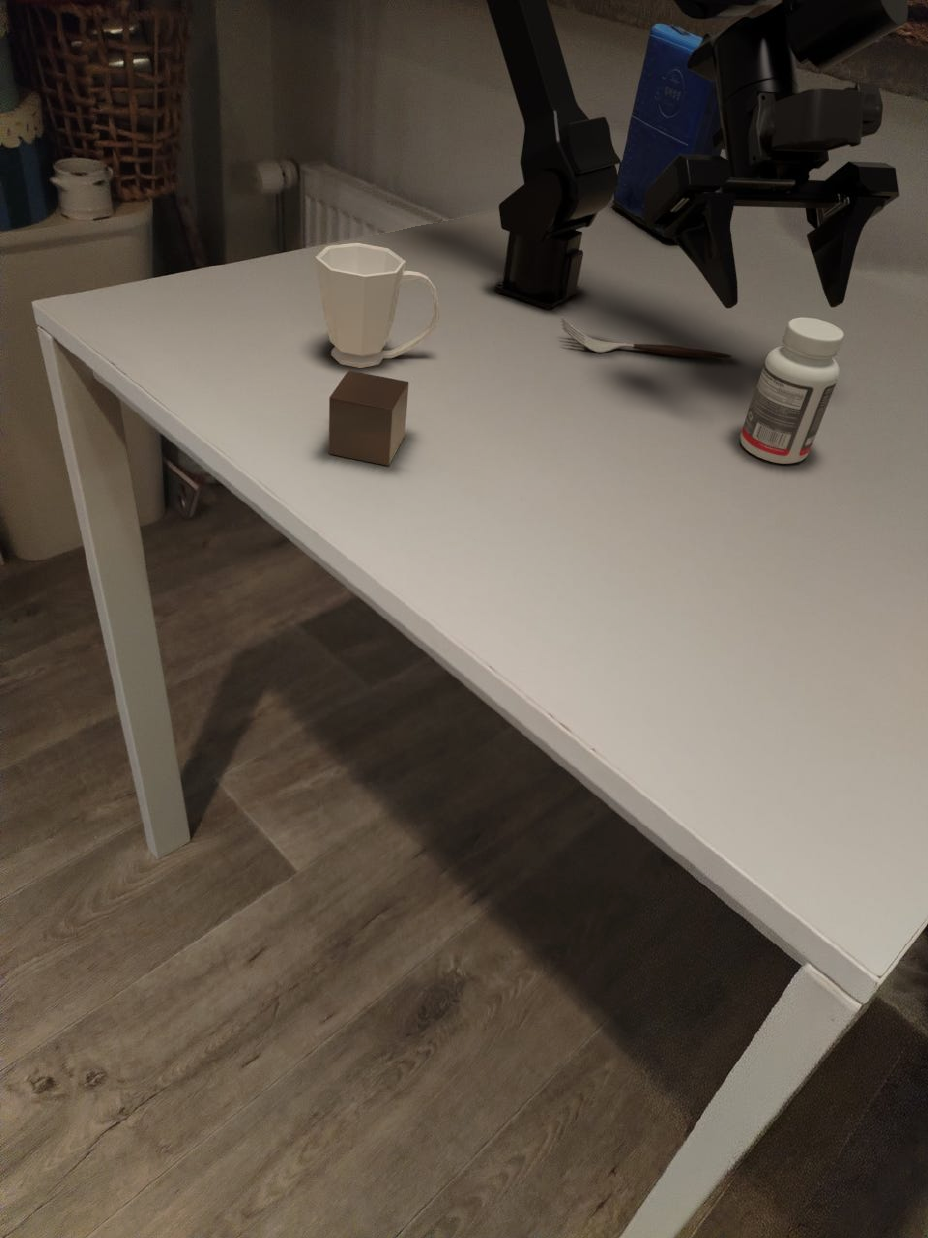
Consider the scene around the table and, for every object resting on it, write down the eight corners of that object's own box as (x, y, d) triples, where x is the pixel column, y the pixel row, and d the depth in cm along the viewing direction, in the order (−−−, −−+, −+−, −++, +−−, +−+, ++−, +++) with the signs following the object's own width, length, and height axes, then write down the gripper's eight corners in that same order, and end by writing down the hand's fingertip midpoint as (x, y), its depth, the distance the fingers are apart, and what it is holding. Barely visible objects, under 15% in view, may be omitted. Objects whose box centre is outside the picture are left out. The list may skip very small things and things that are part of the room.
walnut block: (328, 454, 63) (328, 397, 61) (347, 424, 67) (348, 369, 64) (388, 466, 63) (392, 409, 60) (404, 436, 66) (408, 381, 64)
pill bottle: (781, 428, 74) (824, 311, 67) (821, 462, 70) (871, 342, 64) (725, 433, 72) (764, 314, 66) (763, 469, 68) (808, 346, 62)
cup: (313, 336, 77) (312, 239, 72) (428, 339, 79) (436, 245, 74) (317, 374, 72) (318, 273, 67) (441, 376, 74) (450, 278, 69)
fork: (733, 368, 82) (739, 347, 80) (558, 349, 81) (562, 327, 79) (727, 355, 84) (733, 334, 82) (556, 336, 83) (560, 315, 81)
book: (603, 205, 114) (641, 18, 101) (639, 205, 116) (680, 21, 103) (665, 247, 105) (715, 46, 92) (702, 245, 107) (756, 48, 94)
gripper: (706, 18, 58) (737, 256, 57) (942, 39, 63) (972, 258, 63) (629, 120, 69) (654, 322, 68) (835, 132, 74) (860, 319, 73)
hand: (785, 305), depth 68 cm, fingers open, 9 cm apart
